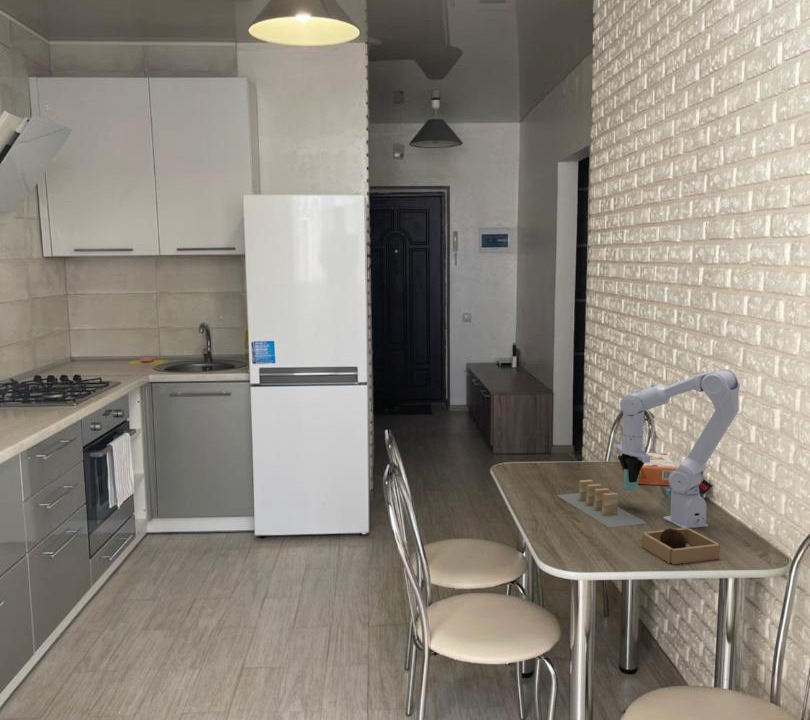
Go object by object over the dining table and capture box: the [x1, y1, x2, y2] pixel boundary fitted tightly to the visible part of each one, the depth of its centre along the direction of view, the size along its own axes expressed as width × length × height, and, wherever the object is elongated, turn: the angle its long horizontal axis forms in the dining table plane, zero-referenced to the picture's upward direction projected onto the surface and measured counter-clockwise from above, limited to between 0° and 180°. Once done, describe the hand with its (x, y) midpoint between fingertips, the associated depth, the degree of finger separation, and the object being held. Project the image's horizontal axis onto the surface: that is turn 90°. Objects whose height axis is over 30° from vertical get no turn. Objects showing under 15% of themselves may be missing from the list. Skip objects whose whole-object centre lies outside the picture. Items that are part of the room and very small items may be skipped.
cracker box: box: [638, 452, 678, 486], centre depth 264 cm, size 14×6×21 cm
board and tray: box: [556, 492, 721, 565], centre depth 217 cm, size 56×15×4 cm, turn 17°
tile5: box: [577, 479, 594, 502], centre depth 236 cm, size 2×4×6 cm, turn 107°
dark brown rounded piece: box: [660, 527, 688, 549], centre depth 196 cm, size 8×8×7 cm
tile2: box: [602, 492, 619, 516], centre depth 223 cm, size 2×4×6 cm, turn 107°
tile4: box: [586, 483, 602, 506], centre depth 232 cm, size 2×4×6 cm, turn 107°
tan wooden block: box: [594, 487, 611, 511], centre depth 228 cm, size 2×4×6 cm, turn 107°
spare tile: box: [622, 469, 639, 492], centre depth 228 cm, size 2×4×6 cm, turn 108°
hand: (630, 481), depth 228 cm, fingers closed on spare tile, 1 cm apart
